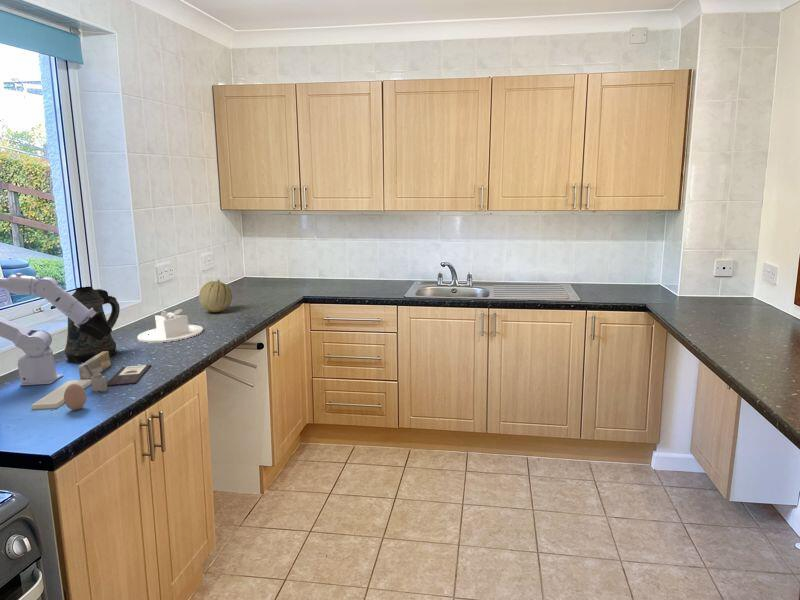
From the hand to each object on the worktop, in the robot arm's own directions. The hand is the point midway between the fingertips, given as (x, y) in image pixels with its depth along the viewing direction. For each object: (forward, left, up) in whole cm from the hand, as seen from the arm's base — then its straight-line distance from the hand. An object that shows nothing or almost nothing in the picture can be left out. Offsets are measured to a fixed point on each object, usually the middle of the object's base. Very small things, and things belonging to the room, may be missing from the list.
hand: (106, 335), depth 188 cm
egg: (+5, -33, -12) cm, 36 cm away
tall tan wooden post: (-5, -1, -12) cm, 13 cm away
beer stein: (-16, +21, -12) cm, 29 cm away
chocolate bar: (+8, -6, -13) cm, 16 cm away
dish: (+3, +45, -13) cm, 47 cm away
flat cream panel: (-5, -21, -12) cm, 25 cm away
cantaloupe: (+11, +84, -12) cm, 86 cm away
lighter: (+3, -18, -12) cm, 22 cm away
